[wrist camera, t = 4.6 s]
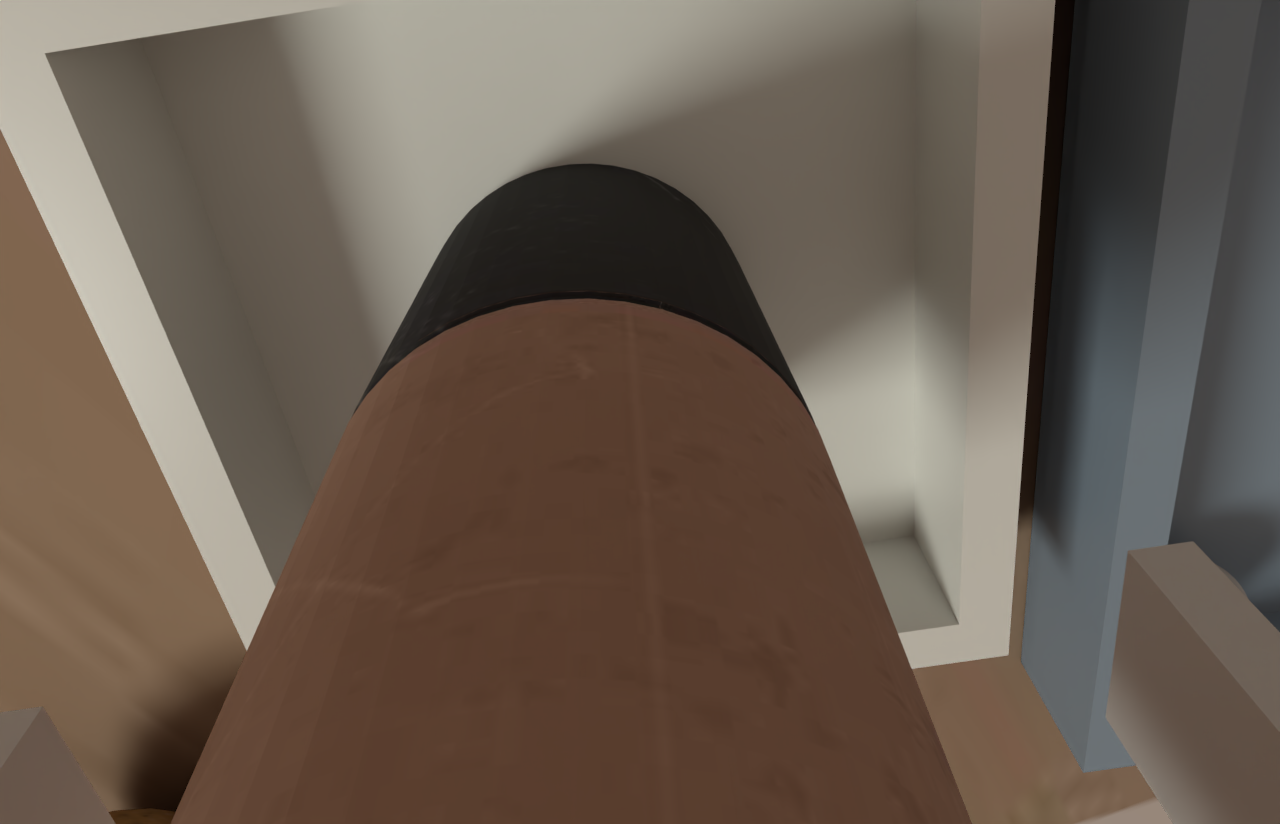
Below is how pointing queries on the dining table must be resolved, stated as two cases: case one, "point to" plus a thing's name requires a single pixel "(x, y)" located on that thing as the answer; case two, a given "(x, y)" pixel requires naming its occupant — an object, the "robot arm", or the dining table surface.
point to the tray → (528, 142)
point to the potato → (142, 816)
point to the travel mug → (578, 560)
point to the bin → (1156, 333)
